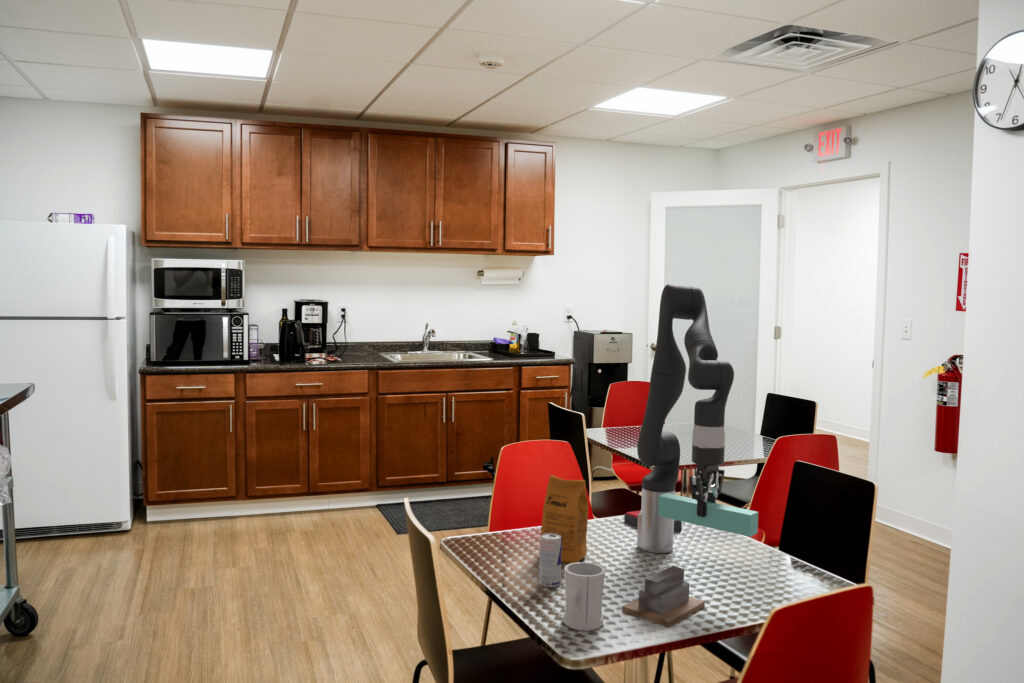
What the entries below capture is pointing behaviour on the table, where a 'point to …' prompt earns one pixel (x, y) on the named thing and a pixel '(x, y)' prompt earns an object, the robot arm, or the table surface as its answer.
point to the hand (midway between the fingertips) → (706, 514)
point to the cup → (583, 596)
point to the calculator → (633, 520)
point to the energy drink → (550, 560)
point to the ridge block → (664, 598)
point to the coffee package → (567, 516)
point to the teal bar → (709, 515)
